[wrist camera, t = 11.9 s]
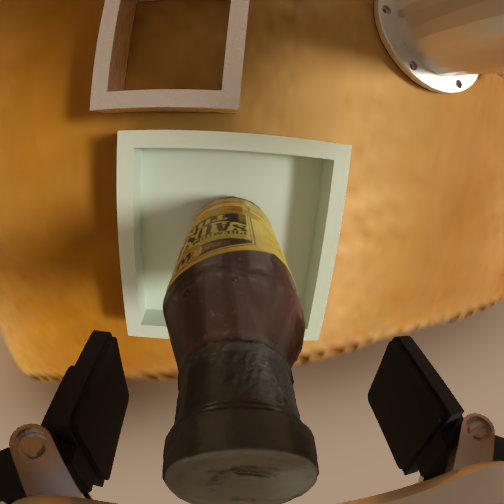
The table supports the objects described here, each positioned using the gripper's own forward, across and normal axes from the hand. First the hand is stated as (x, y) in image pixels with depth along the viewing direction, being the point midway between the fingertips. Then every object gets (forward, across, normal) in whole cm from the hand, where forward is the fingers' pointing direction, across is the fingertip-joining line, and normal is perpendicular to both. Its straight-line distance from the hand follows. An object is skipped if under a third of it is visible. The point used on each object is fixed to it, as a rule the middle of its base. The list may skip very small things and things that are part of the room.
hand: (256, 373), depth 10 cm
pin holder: (+17, +6, -14) cm, 23 cm away
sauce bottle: (+16, +1, +1) cm, 16 cm away
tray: (+17, +1, +1) cm, 17 cm away
